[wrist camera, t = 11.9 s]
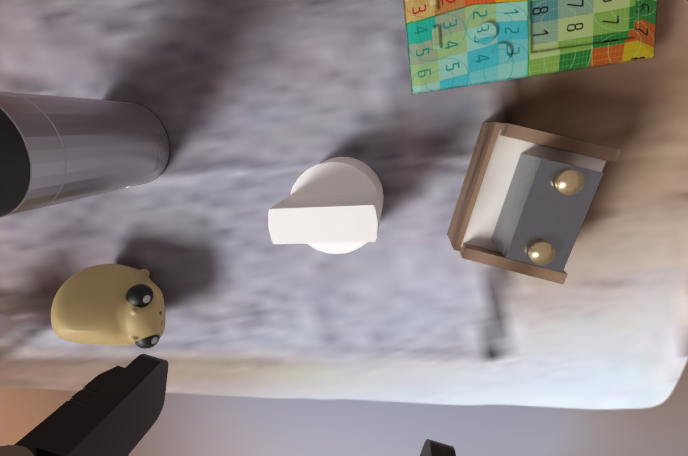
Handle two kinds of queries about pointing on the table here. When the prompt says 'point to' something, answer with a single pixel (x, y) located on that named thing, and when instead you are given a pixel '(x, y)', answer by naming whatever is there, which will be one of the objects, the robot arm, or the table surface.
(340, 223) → the cylinder with rectangular tab
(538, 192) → the block
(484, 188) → the stand
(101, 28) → the table surface
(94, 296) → the tan toy hamster
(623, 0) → the puzzle game
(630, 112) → the table surface
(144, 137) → the robot arm
